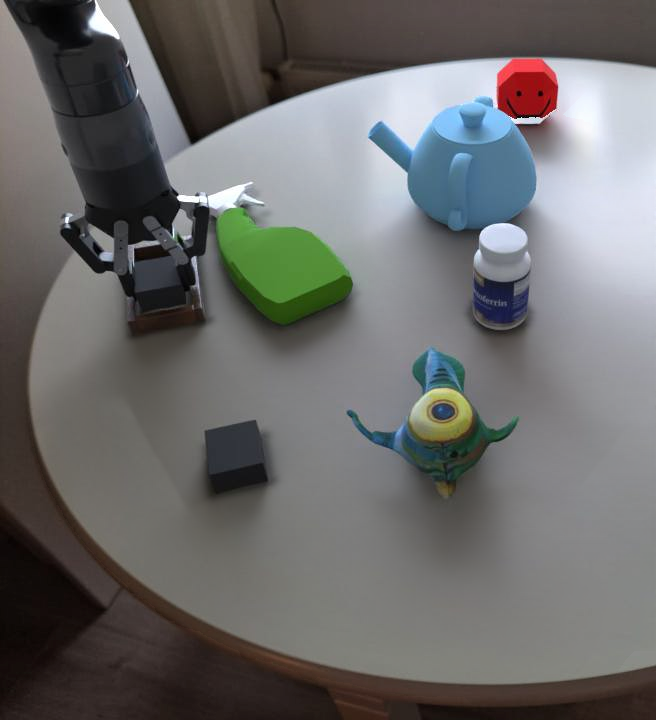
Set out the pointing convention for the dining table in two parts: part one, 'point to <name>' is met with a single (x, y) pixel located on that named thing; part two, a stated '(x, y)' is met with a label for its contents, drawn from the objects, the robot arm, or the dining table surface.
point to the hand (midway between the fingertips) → (162, 290)
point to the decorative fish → (440, 424)
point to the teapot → (465, 165)
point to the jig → (169, 316)
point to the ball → (527, 89)
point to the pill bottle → (501, 277)
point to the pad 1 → (158, 284)
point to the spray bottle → (276, 261)
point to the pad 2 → (235, 456)
